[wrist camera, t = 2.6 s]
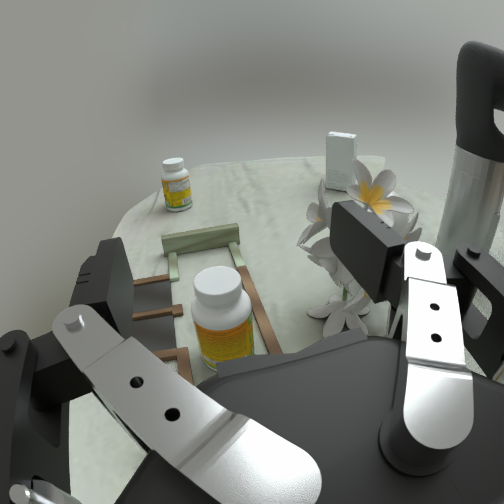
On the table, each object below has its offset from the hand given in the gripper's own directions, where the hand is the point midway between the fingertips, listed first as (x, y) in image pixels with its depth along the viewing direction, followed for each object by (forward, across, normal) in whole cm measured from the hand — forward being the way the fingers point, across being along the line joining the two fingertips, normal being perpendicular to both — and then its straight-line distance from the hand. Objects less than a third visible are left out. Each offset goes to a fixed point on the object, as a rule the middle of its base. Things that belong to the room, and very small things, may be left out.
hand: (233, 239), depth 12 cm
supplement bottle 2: (+11, 0, -20) cm, 23 cm away
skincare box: (+48, +32, -20) cm, 61 cm away
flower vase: (+18, +19, -20) cm, 33 cm away
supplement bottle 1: (+50, -2, -20) cm, 54 cm away
